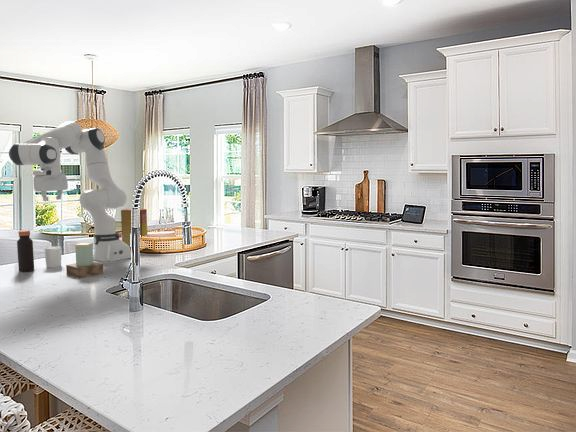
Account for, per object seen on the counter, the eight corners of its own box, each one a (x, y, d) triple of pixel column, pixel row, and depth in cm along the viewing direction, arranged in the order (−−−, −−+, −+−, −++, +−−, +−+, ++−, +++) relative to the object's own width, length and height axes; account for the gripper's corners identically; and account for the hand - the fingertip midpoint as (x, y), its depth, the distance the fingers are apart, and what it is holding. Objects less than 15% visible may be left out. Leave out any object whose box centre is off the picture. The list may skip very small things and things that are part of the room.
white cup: (41, 267, 242) (40, 248, 241) (55, 264, 249) (54, 245, 248) (51, 268, 239) (50, 249, 238) (65, 265, 246) (64, 246, 245)
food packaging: (148, 247, 300) (147, 208, 297) (142, 250, 290) (141, 210, 288) (128, 247, 301) (126, 208, 298) (121, 250, 292) (120, 210, 289)
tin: (82, 263, 229) (81, 242, 228) (93, 263, 229) (92, 242, 227) (76, 265, 223) (74, 244, 222) (87, 265, 223) (86, 244, 222)
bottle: (27, 272, 230) (25, 231, 228) (15, 272, 231) (12, 231, 229) (37, 269, 237) (35, 230, 235) (25, 269, 238) (23, 229, 236)
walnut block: (90, 271, 235) (90, 261, 234) (103, 274, 227) (102, 264, 227) (66, 275, 226) (66, 265, 225) (79, 278, 218) (78, 268, 217)
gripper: (59, 171, 239) (60, 198, 240) (30, 171, 219) (31, 201, 220) (70, 171, 237) (71, 198, 239) (42, 171, 217) (43, 201, 219)
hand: (52, 200), depth 229 cm, fingers open, 8 cm apart
